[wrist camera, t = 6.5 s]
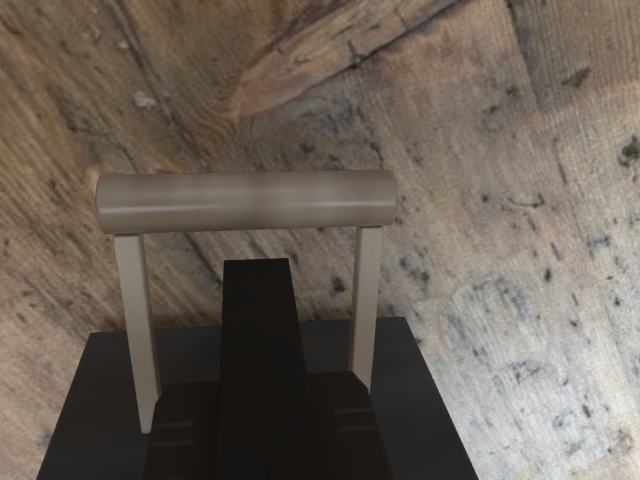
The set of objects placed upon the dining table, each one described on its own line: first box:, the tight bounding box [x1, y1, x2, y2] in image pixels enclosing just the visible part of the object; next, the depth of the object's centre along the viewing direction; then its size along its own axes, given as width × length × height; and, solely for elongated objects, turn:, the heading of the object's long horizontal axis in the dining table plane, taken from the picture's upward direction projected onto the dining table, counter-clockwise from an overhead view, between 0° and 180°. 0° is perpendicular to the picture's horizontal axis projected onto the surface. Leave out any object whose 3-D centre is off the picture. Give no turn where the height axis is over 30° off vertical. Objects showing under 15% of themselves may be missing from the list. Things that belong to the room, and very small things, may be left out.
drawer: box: [36, 169, 479, 480], centre depth 20 cm, size 21×12×8 cm, turn 179°
